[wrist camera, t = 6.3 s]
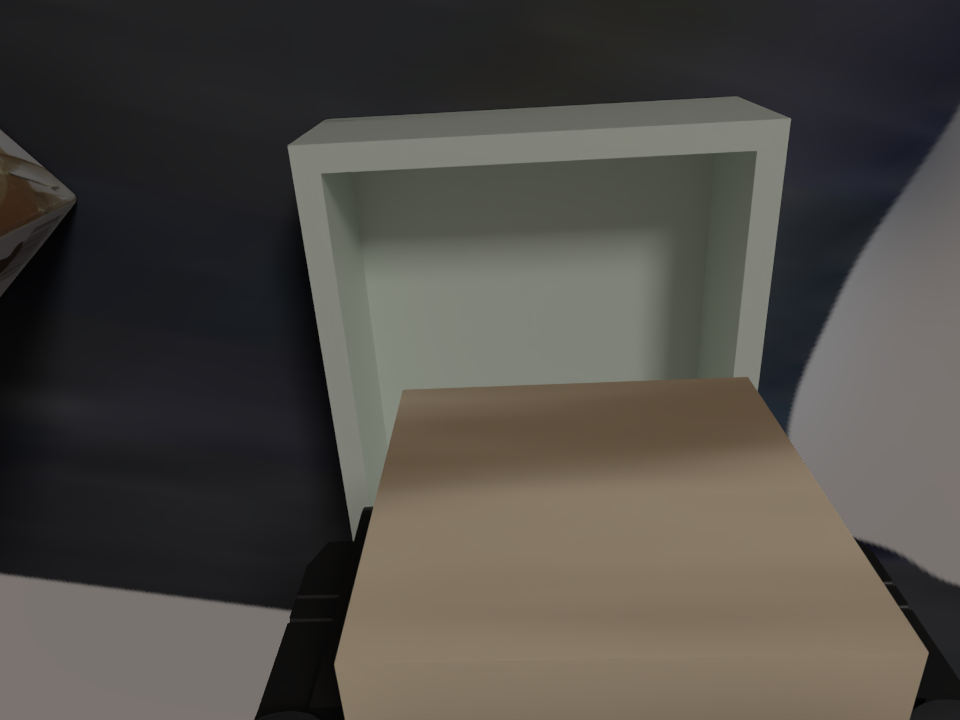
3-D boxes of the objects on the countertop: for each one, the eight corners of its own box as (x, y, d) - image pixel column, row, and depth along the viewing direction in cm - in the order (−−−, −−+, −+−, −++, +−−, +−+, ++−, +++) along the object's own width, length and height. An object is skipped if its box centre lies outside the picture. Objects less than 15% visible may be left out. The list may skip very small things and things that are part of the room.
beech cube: (403, 389, 11) (333, 664, 6) (747, 376, 11) (929, 652, 6) (431, 639, 13) (394, 974, 9) (718, 632, 13) (835, 974, 8)
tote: (325, 119, 25) (287, 145, 20) (736, 96, 24) (791, 118, 20) (384, 535, 32) (366, 621, 28) (698, 526, 32) (730, 613, 27)
